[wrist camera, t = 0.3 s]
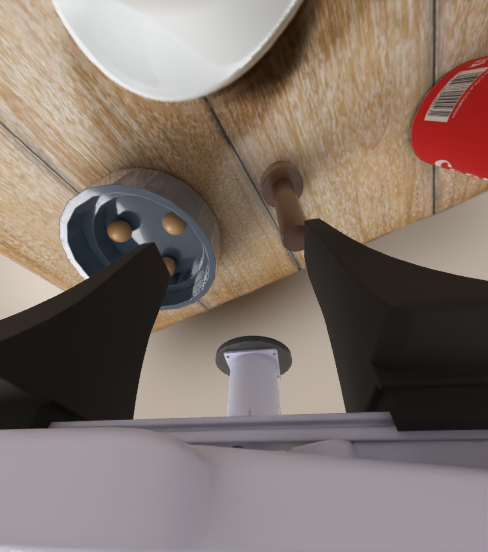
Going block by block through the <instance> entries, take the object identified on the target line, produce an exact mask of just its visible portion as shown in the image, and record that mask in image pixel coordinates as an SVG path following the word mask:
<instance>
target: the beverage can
mask: <svg viewBox="0 0 488 552" xmlns="http://www.w3.org/2000/svg"><path fill="white" fill-rule="evenodd" d="M411 144H412V148H413V150H414V152H415V154H416V155H417V156H418V157H419V158H420V159H421V160H422V161H424V162H426V163H429V164H432V165H435V166H439V167H442V168H446V169H449V170H453V171H456V172H460V173H463V174H467V175H470V176H473V177H477V178H480V179H484V180H487V181H488V56H485V57H481V58H477V59H473V60H470V61H468V62H466V63H464V64H462V65H460V66H458V67H456V68H455V69H453V70H452V71H450V72H449V73H447V74H446V75H445V76H444V77H443V78H442V79H440V80H439V81H438V82H437V83H436V84H435V85H434V87H433V88H432V89H431V90H430V91H429V92H428V94H427V95H426V97H425V98H424V100H423V101H422V103H421V104H420V106H419V108H418V110H417V112H416V115H415V118H414V121H413V124H412V129H411Z"/></svg>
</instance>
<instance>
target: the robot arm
mask: <svg viewBox="0 0 488 552" xmlns="http://www.w3.org/2000/svg"><path fill="white" fill-rule="evenodd" d="M304 258H305V263H306V267H307V271H308V275H309V278H310V281H311V284H312V286H313V289H314V292H315V294H316V297H317V300H318V302H319V305H320V307H321V310H322V313H323V316H324V319H325V322H326V326H327V330H328V334H329V338H330V342H331V346H332V350H333V354H334V358H335V363H336V368H337V372H338V376H339V381H340V385H341V390H342V395H343V400H344V404H345V409H346V413H330V414H299V415H298V414H297V415H281V413H280V402H279V390H278V381H279V380H281V376H280V368H279V360H278V352H277V349H276V348H267V349H252V350H237V351H226V352H224V356H225V359H226V361H227V364H228V366H229V369H230V381H229V393H228V407H227V417H201V418H169V419H138V420H133V416H134V409H135V401H136V395H137V389H138V384H139V379H140V373H141V368H142V364H143V360H144V355H145V351H146V347H147V344H148V340H149V336H150V333H151V330H152V328H153V325H154V323H155V320H156V317H157V315H158V312H159V310H160V307H161V305H162V302H163V300H164V297H165V294H166V292H167V288H168V284H169V278H170V272H169V270H168V268H167V266H166V264H165V262H164V260H163V258H162V256H161V254H160V252H159V250H158V248H157V246H156V244H155V242H150V243H143V244H141V245H139V246H137V247H135V248H134V249H132V250H130V251H129V252H127V253H126V254H124V255H123V256H121V257H120V258H118V259H117V260H115V261H114V262H112V263H111V264H109V265H108V266H106V267H105V268H103V269H102V270H100V271H99V272H97V273H95V274H94V275H92V276H91V277H89V278H88V279H86V280H84V281H83V282H81V283H79V284H77V285H76V286H74V287H72V288H70V289H68V290H67V291H65V292H63V293H61V294H59V295H57V296H55V297H53V298H51V299H48V300H46V301H44V302H42V303H40V304H38V305H36V306H33V307H31V308H29V309H27V310H24V311H22V312H20V313H17V314H15V315H12V316H10V317H7V318H5V319H2V320H0V552H488V281H486V280H480V279H474V278H469V277H464V276H459V275H454V274H450V273H446V272H442V271H437V270H433V269H429V268H426V267H422V266H418V265H415V264H412V263H409V262H406V261H402V260H399V259H396V258H394V257H391V256H388V255H386V254H383V253H381V252H378V251H376V250H373V249H371V248H369V247H367V246H365V245H363V244H361V243H359V242H357V241H355V240H353V239H351V238H350V237H348V236H346V235H344V234H343V233H341V232H339V231H338V230H336V229H335V228H333V227H332V226H330V225H328V224H327V223H325V222H324V221H322V220H320V219H319V218H318V219H311V220H304Z"/></svg>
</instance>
